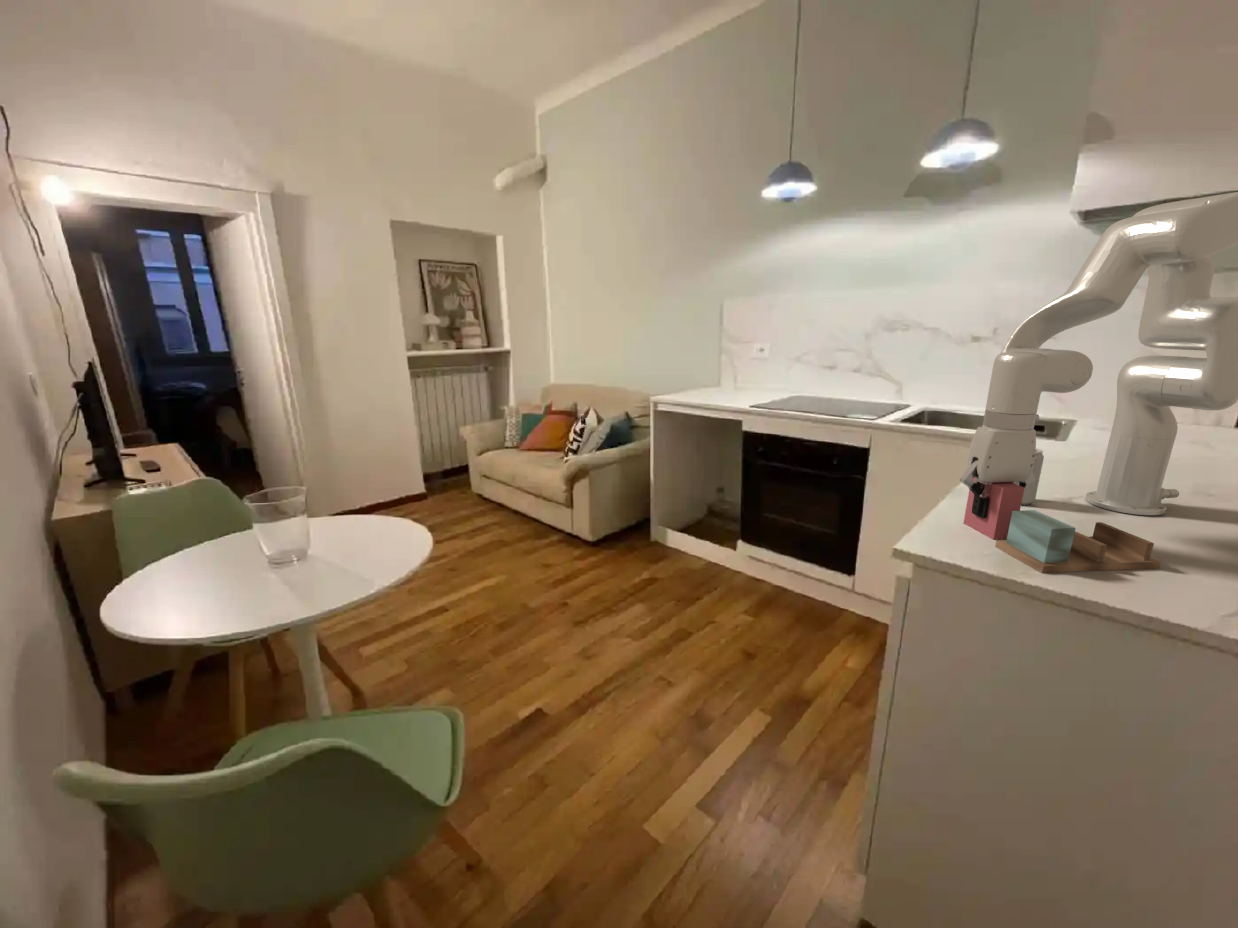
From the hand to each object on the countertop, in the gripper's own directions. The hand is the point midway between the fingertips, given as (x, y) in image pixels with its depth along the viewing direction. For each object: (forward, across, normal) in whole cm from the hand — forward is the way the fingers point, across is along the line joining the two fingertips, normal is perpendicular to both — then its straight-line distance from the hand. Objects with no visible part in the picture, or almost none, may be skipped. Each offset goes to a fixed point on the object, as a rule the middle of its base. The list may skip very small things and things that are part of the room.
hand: (990, 514), depth 99 cm
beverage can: (+3, -18, -15) cm, 24 cm away
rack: (+3, -6, +12) cm, 14 cm away
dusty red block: (+3, 0, 0) cm, 3 cm away
